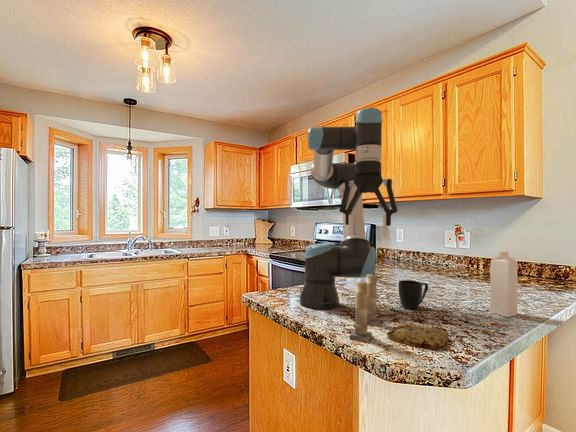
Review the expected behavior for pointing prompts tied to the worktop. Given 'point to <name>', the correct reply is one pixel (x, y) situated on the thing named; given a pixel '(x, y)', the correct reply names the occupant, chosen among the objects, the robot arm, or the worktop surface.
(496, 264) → the milk
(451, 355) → the worktop surface
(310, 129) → the robot arm
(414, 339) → the pastry
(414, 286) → the mug
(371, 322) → the post
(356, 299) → the post
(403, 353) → the worktop surface
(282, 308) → the worktop surface
